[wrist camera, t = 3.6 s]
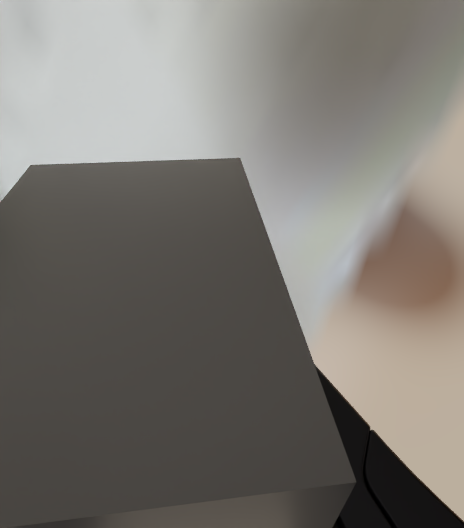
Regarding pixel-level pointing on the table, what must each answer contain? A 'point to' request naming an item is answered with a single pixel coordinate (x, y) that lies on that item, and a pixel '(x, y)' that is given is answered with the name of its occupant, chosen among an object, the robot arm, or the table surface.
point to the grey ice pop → (155, 357)
